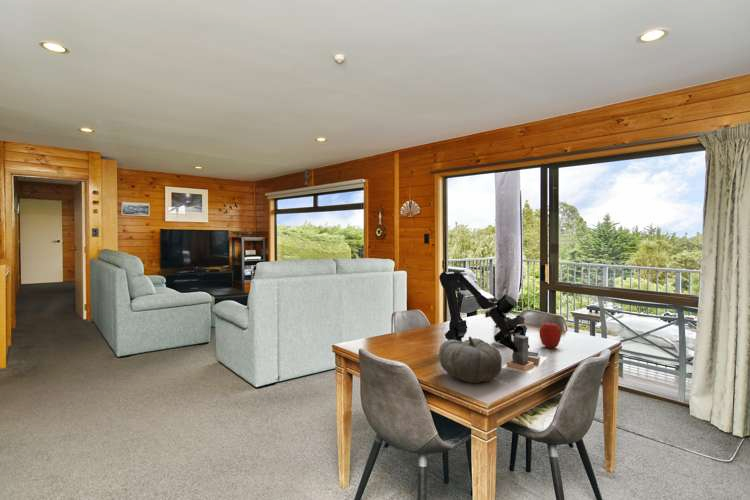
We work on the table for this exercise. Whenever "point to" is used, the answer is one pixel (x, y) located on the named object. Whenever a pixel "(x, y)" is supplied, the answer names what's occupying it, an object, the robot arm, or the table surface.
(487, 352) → the gourd
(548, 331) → the apple
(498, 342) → the mug
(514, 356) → the peg
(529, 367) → the collar
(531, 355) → the collar
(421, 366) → the table surface
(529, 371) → the plate
